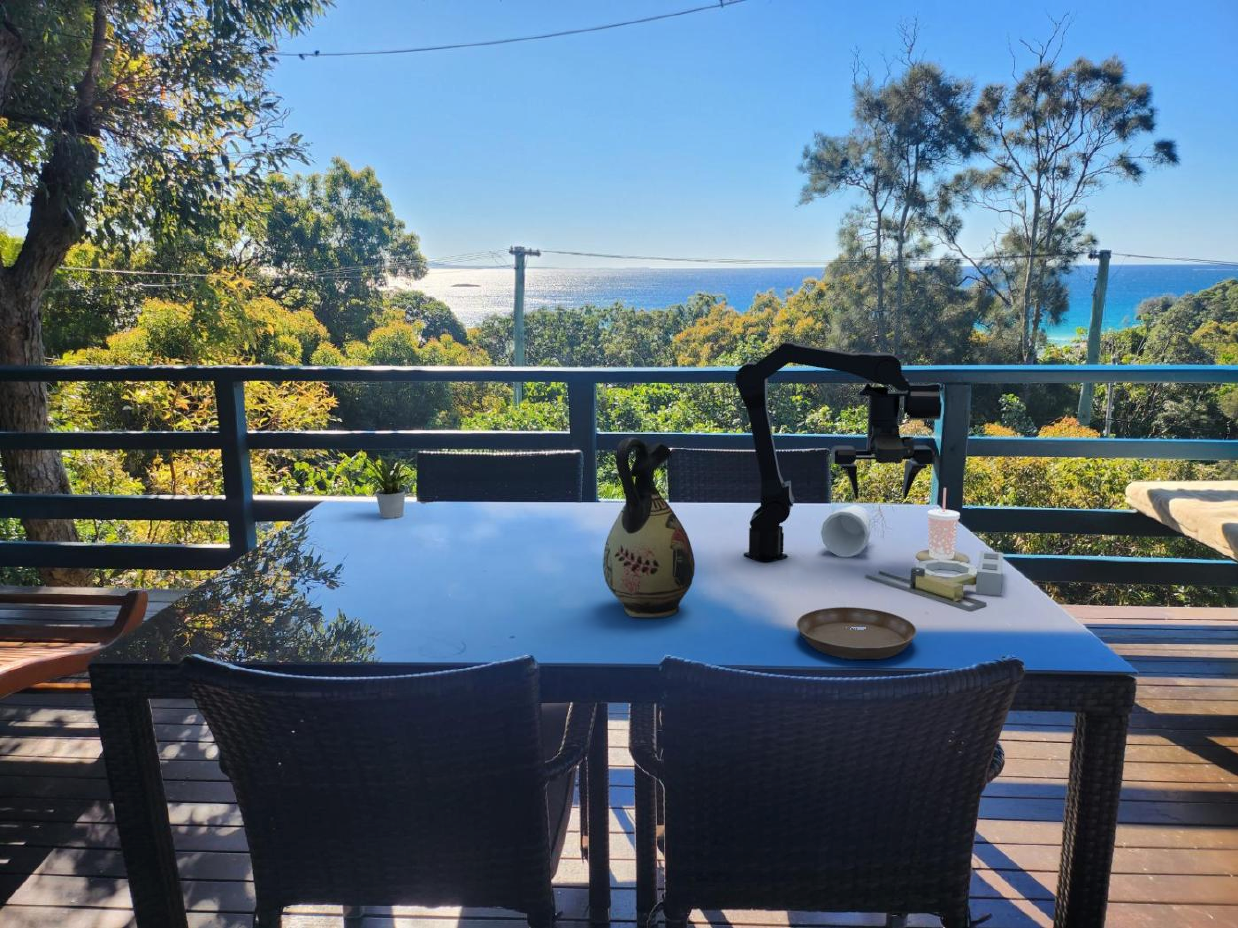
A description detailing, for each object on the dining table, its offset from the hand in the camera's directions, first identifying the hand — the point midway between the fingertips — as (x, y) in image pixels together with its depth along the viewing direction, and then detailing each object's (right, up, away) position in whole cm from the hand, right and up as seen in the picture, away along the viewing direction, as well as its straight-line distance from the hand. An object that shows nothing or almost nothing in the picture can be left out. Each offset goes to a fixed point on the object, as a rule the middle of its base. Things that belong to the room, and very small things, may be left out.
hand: (880, 498), depth 176 cm
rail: (+3, -16, -15) cm, 22 cm away
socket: (+12, -15, -9) cm, 21 cm away
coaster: (+14, -12, +5) cm, 19 cm away
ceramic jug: (-46, -18, -23) cm, 55 cm away
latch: (+7, -16, -15) cm, 23 cm away
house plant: (-108, -6, +47) cm, 118 cm away
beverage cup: (+14, -12, +5) cm, 19 cm away
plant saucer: (-15, -21, -38) cm, 46 cm away
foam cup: (0, -5, +18) cm, 19 cm away
